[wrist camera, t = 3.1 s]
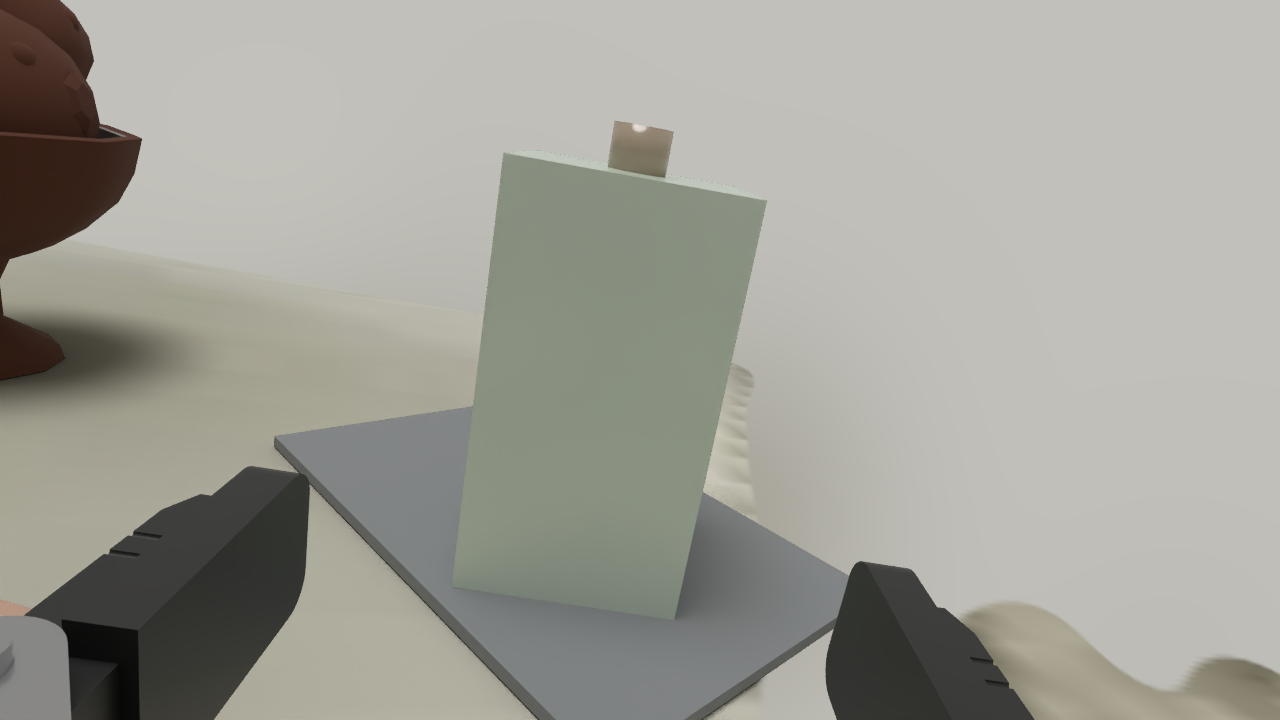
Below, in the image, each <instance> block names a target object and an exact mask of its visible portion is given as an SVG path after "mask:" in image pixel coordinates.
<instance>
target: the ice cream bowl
mask: <svg viewBox="0 0 1280 720" xmlns="http://www.w3.org/2000/svg"><path fill="white" fill-rule="evenodd" d="M93 62H94V59H93V54H92V50H91V45H90V41H89V37H88V35H87V33H86V32H85V30H84V29H83V27H82V25H81V24H80V22H79V21H78V19H77V18H76V16H75V14H74V13H73V12H72V11H71V10H70V9H69V8H67V7H66V6H65V5H64V4H63V3H62V2H61V1H60V0H0V278H1V276H2V274H3V272H4V270H5V267H6V265H7V263H8V261H9V259H12V258H15V257H19V256H22V255H26V254H29V253H33V252H36V251H39V250H42V249H44V248H47V247H50V246H53V245H55V244H57V243H59V242H61V241H63V240H64V239H66V238H68V237H70V236H72V235H74V234H76V233H78V232H80V231H82V230H84V229H86V228H87V227H88V226H89V225H91V224H92V223H93V222H94V221H96V220H97V219H98V218H99V217H101V216H102V215H103V214H104V213H106V212H107V211H108V210H109V209H110V208H112V207H113V206H114V205H115V204H117V203H118V202H119V200H120V199H121V197H122V195H123V193H124V191H125V190H126V188H127V186H128V184H129V182H130V181H131V179H132V177H133V175H134V173H135V169H136V164H137V159H138V155H139V150H140V146H141V141H142V139H141V138H139V137H137V136H135V135H132V134H130V133H127V132H124V131H121V130H119V129H116V128H113V127H111V126H108V125H103V124H100V122H99V118H98V113H97V109H96V104H95V100H94V96H93V91H92V90H91V88H90V86H89V85H88V83H87V82H86V79H87V76H88V74H89V71H90V69H91V67H92V64H93ZM64 358H65V356H64V354H63V352H62V349H61V347H60V345H59V344H58V343H57V342H56V341H55V340H54V339H53V338H52V337H51V336H50V335H49V334H47V333H44V332H42V331H40V330H37V329H35V328H32V327H30V326H27V325H25V324H23V323H20V322H18V321H15V320H13V319H11V318H8V317H6V316H3V307H2V298H1V289H0V380H2V379H7V378H12V377H18V376H23V375H28V374H33V373H38V372H43V371H46V370H47V369H49V368H50V367H52V366H53V365H55V364H57V363H58V362H60V361H61V360H63V359H64Z"/></svg>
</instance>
